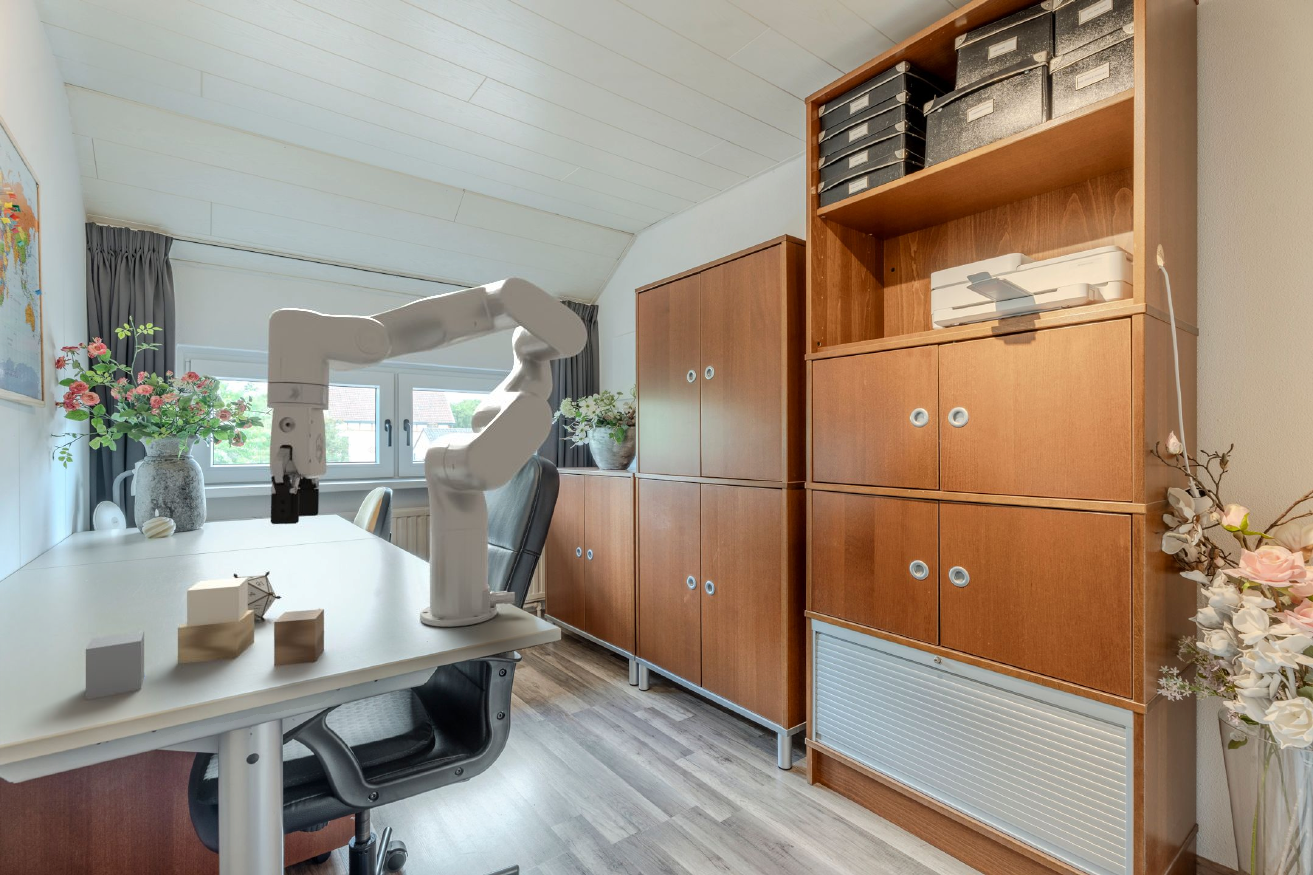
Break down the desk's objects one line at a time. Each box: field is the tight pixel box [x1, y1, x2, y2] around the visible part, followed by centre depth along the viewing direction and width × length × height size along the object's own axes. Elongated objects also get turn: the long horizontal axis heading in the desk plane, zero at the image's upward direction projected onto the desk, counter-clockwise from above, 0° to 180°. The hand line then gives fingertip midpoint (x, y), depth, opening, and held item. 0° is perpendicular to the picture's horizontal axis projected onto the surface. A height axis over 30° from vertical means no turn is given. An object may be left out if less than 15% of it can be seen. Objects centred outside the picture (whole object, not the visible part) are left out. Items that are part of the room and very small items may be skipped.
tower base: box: [177, 610, 255, 664], centre depth 88 cm, size 7×7×5 cm
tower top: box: [186, 576, 248, 627], centre depth 88 cm, size 6×6×5 cm
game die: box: [233, 570, 282, 623], centre depth 103 cm, size 9×8×10 cm
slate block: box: [85, 630, 145, 701], centre depth 75 cm, size 5×5×6 cm
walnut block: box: [273, 608, 325, 667], centre depth 86 cm, size 5×5×6 cm
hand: (295, 519), depth 86 cm, fingers open, 9 cm apart
